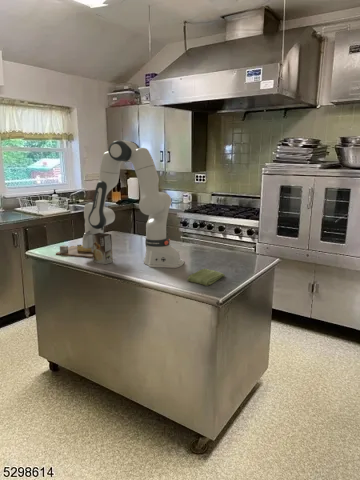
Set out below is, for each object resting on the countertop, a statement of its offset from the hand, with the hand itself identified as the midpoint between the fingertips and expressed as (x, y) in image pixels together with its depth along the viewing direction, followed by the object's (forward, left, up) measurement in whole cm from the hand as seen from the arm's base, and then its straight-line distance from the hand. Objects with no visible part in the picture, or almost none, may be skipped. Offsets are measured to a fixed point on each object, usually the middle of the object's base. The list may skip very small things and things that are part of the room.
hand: (93, 251), depth 214 cm
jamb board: (+11, -3, -2) cm, 11 cm away
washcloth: (-72, +21, -3) cm, 76 cm away
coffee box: (-11, +10, -2) cm, 16 cm away
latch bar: (+5, -2, -1) cm, 5 cm away
